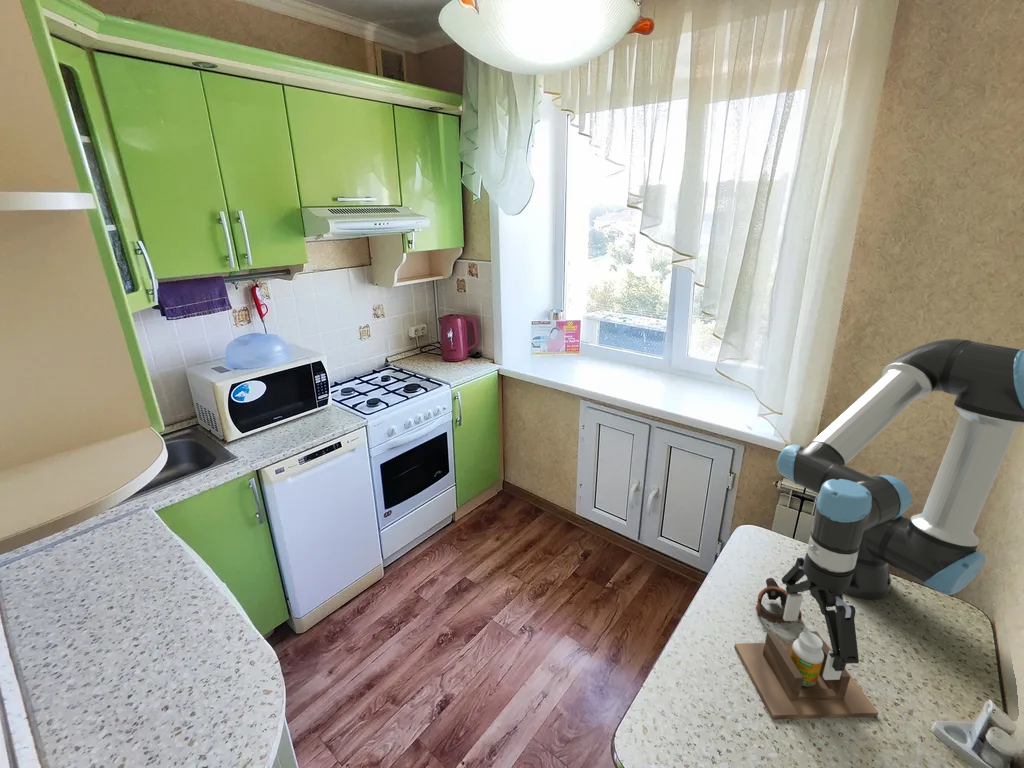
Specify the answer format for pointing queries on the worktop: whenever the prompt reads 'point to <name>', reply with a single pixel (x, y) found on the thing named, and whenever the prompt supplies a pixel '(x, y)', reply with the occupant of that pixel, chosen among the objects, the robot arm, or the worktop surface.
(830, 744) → the worktop surface
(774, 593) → the pottery mug
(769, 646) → the wooden cradle tray
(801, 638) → the supplement bottle
